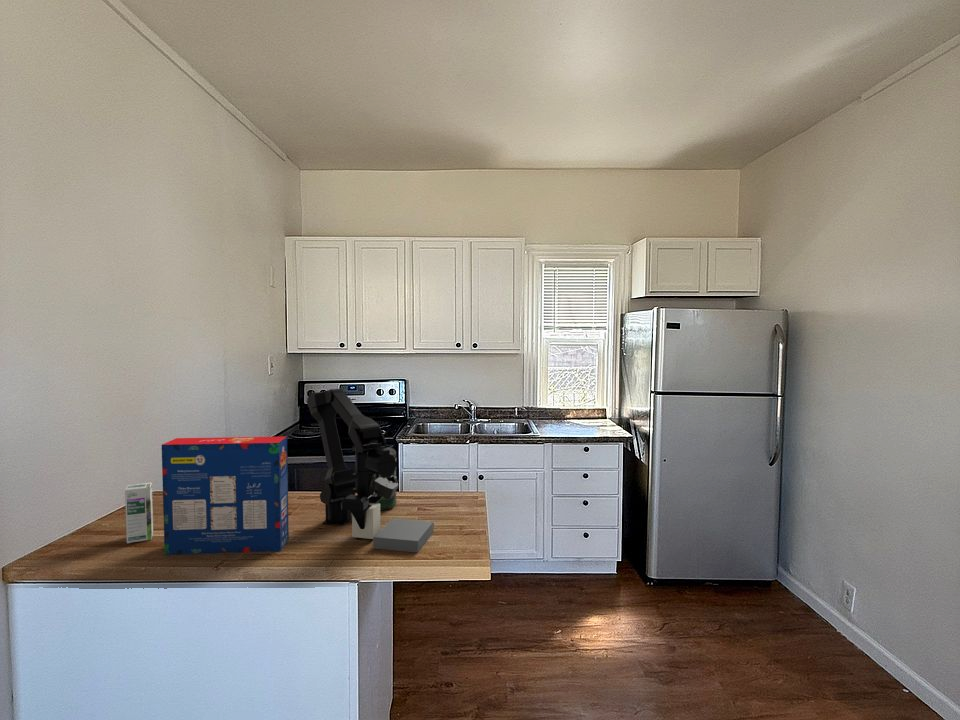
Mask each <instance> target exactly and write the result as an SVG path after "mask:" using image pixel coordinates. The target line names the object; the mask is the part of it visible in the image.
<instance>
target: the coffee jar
mask: <svg viewBox="0 0 960 720" xmlns="http://www.w3.org/2000/svg"><path fill="white" fill-rule="evenodd" d="M385 449H388V450H390V455H392V456H393V457H394V458H395V460H396V461H397V451H396V450H395V449H394V448H393V447H388V446H387V448H385ZM392 475H393V476H396V477H397V468H396V469H395V471H394V472H393V473H392V474H391V475H390V476H387V477H384V476H381V475H380V476H381V477H382V478H387V479H388V478H390V477H391V476H392ZM378 503H379V504H380V511H384V510H387V509H392V508H394V506H395V505H396V503H397V491H396V492H395V495H394V496H393V497H392V498H391V499H385V498H384V497H382V498H381V499H380V500H379V501H378Z"/></svg>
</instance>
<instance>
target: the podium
mask: <svg viewBox="0 0 960 720" xmlns="http://www.w3.org/2000/svg"><path fill="white" fill-rule="evenodd" d="M434 525H435V523H434V521H432V520H421V519H418V520H417V519H408V518H407V519H406V518H392V519H390V520H389V521H388V522H387V524H386V525H384V526H383V527H382V528H380V531H379V532H378V533H377V534H376V535H375V536H374V537H373V539H372V540H373V549H374V548H375V550H377V549H378V550H385V549H387V551H398V552H408V553H416V554H417V553H420V550H421V549H422V548H423V547H424V546H425V544H426V543H427V541H428V540H429V539H430V537H431V536H432V535H433V534H434V533H435V531H434Z"/></svg>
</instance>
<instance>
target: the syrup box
mask: <svg viewBox="0 0 960 720" xmlns="http://www.w3.org/2000/svg"><path fill="white" fill-rule="evenodd" d="M152 484H153V483H152V482H151V481H150V482H145V483H144V482H143V483H135V484H134V483H133V484H127V486H126V488H125V490H124V500H125V502H124V506H125V522H126V523H125V524H126V525H125V527H126V529H125V530H126V544H131V543H137V542H138V543H139V542H145V541H152V539H153V535H154V520H153V519H154V516H153V515H154V513H153V488H152V487H153V485H152Z"/></svg>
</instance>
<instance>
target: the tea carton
mask: <svg viewBox="0 0 960 720" xmlns="http://www.w3.org/2000/svg"><path fill="white" fill-rule="evenodd" d="M368 505H372V506H371V507H370V508H369V509H368V510H367V514H366V523H365V528H364V529H360V527H359V525H358V524H357V522H356V520H355V518H354V516H353V514H352V513H351V516H352V519H351V523H352V524H351V526H352V529H351V535H352V536H351V537H352V538H359V539H367V540H368V539H369V540H373V537H374V536H375V535H376V534H377V533H378V532H379V531H380V530H381V510H380V504H379V503H369V504H368Z"/></svg>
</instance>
